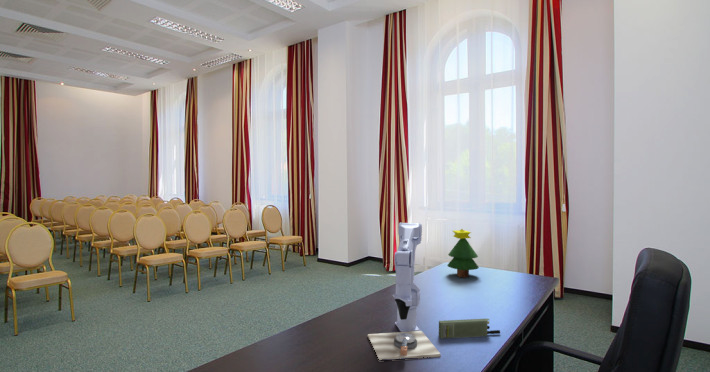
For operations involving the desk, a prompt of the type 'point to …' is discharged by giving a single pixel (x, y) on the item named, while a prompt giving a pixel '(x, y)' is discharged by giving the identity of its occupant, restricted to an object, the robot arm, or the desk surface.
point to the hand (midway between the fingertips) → (403, 318)
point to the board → (394, 353)
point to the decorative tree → (462, 255)
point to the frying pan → (404, 341)
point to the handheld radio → (464, 328)
